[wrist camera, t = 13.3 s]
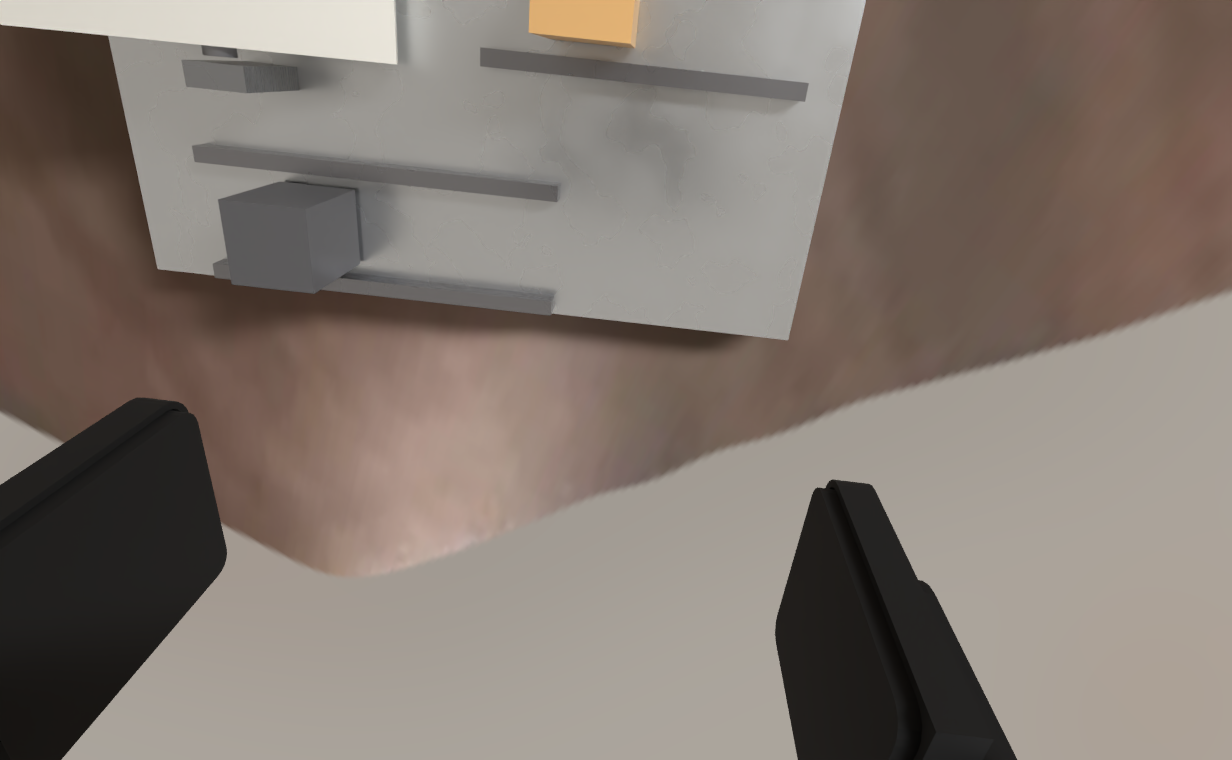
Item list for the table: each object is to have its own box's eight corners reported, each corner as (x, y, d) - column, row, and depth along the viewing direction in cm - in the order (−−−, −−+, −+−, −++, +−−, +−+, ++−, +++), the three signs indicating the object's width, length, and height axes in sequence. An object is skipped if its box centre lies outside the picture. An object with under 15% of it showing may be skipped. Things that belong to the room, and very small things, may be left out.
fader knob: (279, 181, 26) (217, 199, 22) (354, 189, 26) (305, 209, 22) (288, 255, 27) (231, 284, 23) (360, 264, 27) (314, 293, 23)
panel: (123, -183, 24) (-53, -267, 18) (867, -104, 23) (938, -163, 17) (202, 251, 30) (93, 294, 25) (776, 316, 30) (804, 374, 24)
